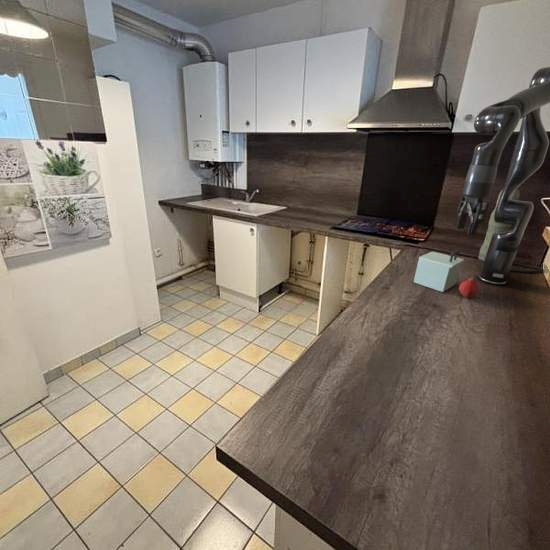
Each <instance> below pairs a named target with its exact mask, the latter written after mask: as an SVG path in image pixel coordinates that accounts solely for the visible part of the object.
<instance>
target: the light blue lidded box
mask: <svg viewBox="0 0 550 550" xmlns="http://www.w3.org/2000/svg"><path fill="white" fill-rule="evenodd" d="M461 266H462V263H460V264H458V265H456V266H454V267H453V268H451V267H447V266H444V265H440V264H436V263H433V262H429V261H425V260H422V259H419V258H418V261H417V266H416V270H415V275H414V279H413V283H415V284H417V285H421V286H424V287H426V288H429V289H432V290H435V291H438V292H441V293H444V292H445V291H447V290H448V289H450V288H453V286H455V285H456V283H457V278H458V275H459V271H460V268H461Z"/></svg>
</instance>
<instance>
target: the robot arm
mask: <svg viewBox="0 0 550 550" xmlns="http://www.w3.org/2000/svg"><path fill="white" fill-rule="evenodd" d="M548 104H550V66H546V67H545V66H544V67H542V68H539V69H537V70H536V71H535V72H534V74H533V76H532V77H531V80H530V83H529V85H528V88H526V89H523V90H521V91H518V92H516V93H515V94H513V95H512V96H510V97H509V98H507V99H505V100H503V101H499V102H496V103H494V104H491V105H488V106H486V107H484V108H483V109H482V110H481V111H480V112H478V114H477V115H476V116H475V118H474V122H473V129H474V131H475V132H476V133H477V134H479V135H494V136H493V138H492V139H490V141H487V142H483V143H479V144H477V145H476V146H475V147H474V150H473V153H472V157H471V162H470V165H469V168H468V170H467V174H466V177H465V180H464V185H463V188H462V193H461V195H462V196H461V197H460V200H459V203H458V207H457V211H456V214H457V215H458V217H457V218H458V220H457V224H456V229H459V230H464V229H465V227H466V223H467V221H468V220H467V219H468V217H469V218H470V223H469V226H468V230H467V235H469V236H476V235H477V232H478V228H479V225H480V224H484V223H485V221H486V217H487V213H488V209H489V206H490V203H489V202H484V200H485V198H490V197H491V194H492V191H493V187H494V184H495V181H496V177H497V175H498V168H499V164H500V160H501V157H502V154H503V151H504V149H505V147H506V145H507V143H508V142H509V140H510V139H511V136H512V134H513V133H514V131H515V130H516V128H517V127H518V125H519V122H520V120H521V119H522V120H521V124H520V128H519V130H518V135H517V139H516V141H515V145H514V147H513V151H512V155H511V157H510V158H511V159H510V162H509V167H508V171H507V175H506V179H505V181H504V185H503V187H502V190H503V191H502V190H501V191H502V193H501V196H500V199H499V202H498V205H497V208H496V211H495V215H494V220H495V222H498V223H503V224H509V225H511V226H513V228H512V229H508V231H501V232H496V233H494V234H493V236H492V239H491V242H490V245H489V248H488V251H487V254H486V258H485V261H483V263H482V267H481V270H480V273H479V275H478V279H479V281H481V282H483V283H486V284H489V285H494V286H504V285H506V284H507V280H508V277H509V274H510V272H518V273H540V272H543V271H544V270H545V268H544V269H543V264H544V263H540V264H539V266H540V267H541V268H540V269H535V270H533V269H532V270H527V269H526V270H525V269H517V268H512V266H513V265H514V264H513V263H514V260H515V258H516V256H517V253H518V250H519V247H520V244H521V242H522V238H523V236H524V234H525V230H526V229H527V227H528V223H529V222H530V219H531V217H532V214H533V212H534V203H533V202H532V201H525V200H519V199H518V200H511V198H512V196H513V194H514V192H515V191H516V189H519V187H520V186H521V185H523V183H524V182H525V181H527V180H528V179H529V178H530V177H531V176H532V175H534V174H535V173H536V171H538V170H539V169H540V168H541V166H542V165H543V163H544V162H545V158H546V155H547V152H548V149H549V146H550V139H549V136H548V133H547V131H546V128H545V126H544V124H543V122H542V117H541V110H542V109H541V107H544V106H545V105H548Z"/></svg>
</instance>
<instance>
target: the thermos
mask: <svg viewBox="0 0 550 550" xmlns="http://www.w3.org/2000/svg"><path fill="white" fill-rule="evenodd" d="M502 191H503V189H501V190H500V192H499V194H498V197H497V200H496V203H495V207H494V210H493V211H492V212H491V214H490V218H489V221H488V228H487V231H486V234H485V238H484V241H483V243H482V245H481V246H480V249H479V252H478V257H477V259H478V260H479V261H482V262H484V261H485V258H486V254H487V251H488V248H489V245H490V242H491V239H492V236H493V234H494V233H496V232H501V231H508V230H510V228H511V227H512V225H509V224H503V223H498V222H495V220H494V215H495V211H496V208H497V205H498V202H499V199H500V196H501V193H502ZM519 198H520V189H519V188H517V189H516V191H515V192H514V194H513V196H512V198H511V200H518V201H519Z"/></svg>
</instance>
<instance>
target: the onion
mask: <svg viewBox="0 0 550 550" xmlns="http://www.w3.org/2000/svg"><path fill="white" fill-rule="evenodd" d="M458 290H459V293H460V294H461V295H462V296H463V297H464V298H466V299H468V298H471V297H473V296H475V295H476V294H477V293H478V292H479V285H478V284H477V281H475V279H474V277H471V278H468V279H465V280H464V281H462V282H461V283H460V284H459V287H458Z"/></svg>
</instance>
